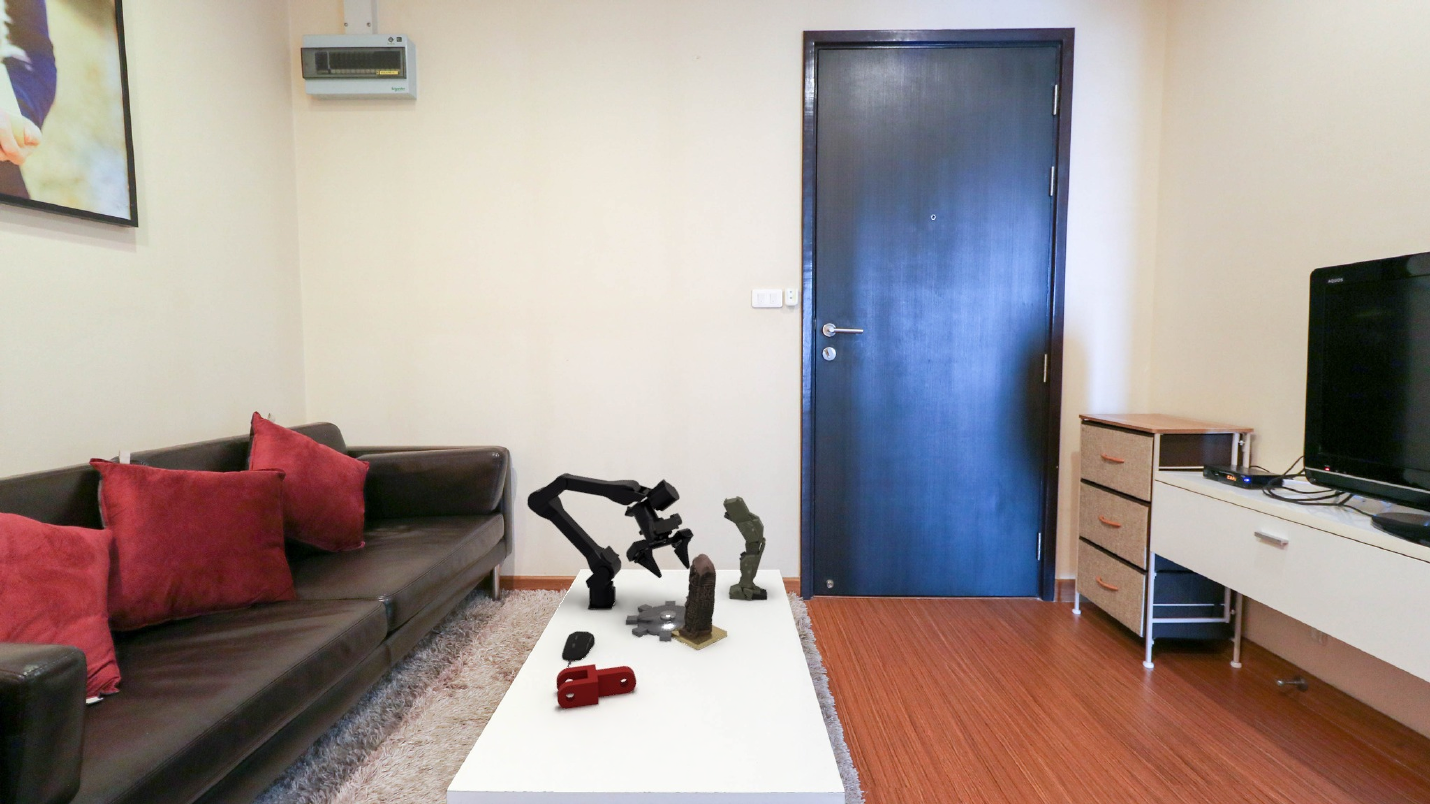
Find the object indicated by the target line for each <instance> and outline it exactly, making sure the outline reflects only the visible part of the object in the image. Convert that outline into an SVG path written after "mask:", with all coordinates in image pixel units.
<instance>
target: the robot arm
mask: <svg viewBox="0 0 1430 804" xmlns="http://www.w3.org/2000/svg"><path fill="white" fill-rule="evenodd" d="M565 491H571V492H576V493H582V494H588V495H594V496H600V497H604V498H606V499H608V500H610V502H611V501H612V502H614V503H616V504H619V505H622V506H626V509H625V511H624V516H625V517H629V518H634V519H635V522H636V524H637V525H638V527H639V531H638V534H639V535H640V536H643V537H644V538H643V539H641V540H640V539H639V540H635V541H633V542H632V543H631V544H630V546H629V547H628V548H627V550H626V553H625V554H626V555H625V556H626V558H627V560H628V562H629V563H632V562H633V563H634V564H638V565H640V566H642V567H643V568H645V569H647V570H648V571H649V572H650V573H652V574H653V575H654V576H655V577H656V578H658V579H660V578H662V577H663V574H662V571H661V570H660V567H659V565H658V564H657V562H656V559H655V557H654V555H653V554H654V553H653V550H657V549H660V548H664V547H668V546H671V547H672V549H673V552H674V554H675V555H676V556H677V558H678V560H679V561H680V562H681V563H682V565H683V567H684V568H686V570H690V566H691V565H690V557H689V549H688V548H689V543H690V542H691V541H692V539H693V537H694V536H695V534H694V533H693V531H692V530H691V528H688V527H686V528H682V529H680V526H681V525H683V519H682V517H681V516H680V514H679V512H677V513H673V514H670V515H669V518H665V519H664V518H663V516H661V517H659V515H658V513H657V512H659V511H660V512H665V510H667V509H668V508H670V507H672V506H673V504H675V503H676V502H678V500H680V499H681V498H680V494H679V491H678V490H677V489H676V487H675V486H673V485H672V484H671V483H669V482H667V481H666V479H664V478H663V479H662V480H660V481H659V482H658V483H657V484H656V485H655V486H654V487H653V488H651V487H648V486H645V485H642V484H640V483H639V481H637V480H635V479H620V480H619V479H618V480H606V479H599V478H594V477H593V478H592V477H589V476H587V477H586V476H582V475H577V474H576V475H575V474H571V473H570V472H569V473H568V472H565V473H563V474H561V475H559V476H556V478H555V479H554V480H553V481H552V482H549V484H547V485H546V486H542V487H540V488H539V489H536V490H534V491H533V492H531V493H529V494H528V496H527V500H526V501H527V503H526V505H527V507H528V508H529V509H530V511H532V512H533V513H535V514H536V515H537V516H538V517H540V518H543V519H544V520H547V521H549V522H551V523H552V525H554V526H555V528H556V529H558V531H560V532H561V534H562V535H563V536H564V537H565V538H566V539H567V540H568V541H569V542H570V544H571V545H572V546H574V547H575V548H576V549H577V550H578V552H579V553H580V554H581V555H582V556H583V557H584V558H585V560H586V562H587V565H588V567H589V570H590V572H591V573H592V574H591V575H590V576H589V577H588V578H586V580H585V584H586V587H587V588H588V596H589V597H588V602H589V603H588V607H587V610H611V609H613V607H614V605H615V604H616V601H617V593H616V592H617V590H616V589H617V588H616V586H614V582H615V581H614V579H615V577H616V575H618V574H619V572H620V571H621V569H622V560H621V558H620V554H619V553H616V551H615V550H614V549H613V548H612V547H611V545H608V546H607V547H603V546H600V545H599V544H598V543H596V541H595V540H594V539H593V538H592V537H591V536H590V535H589V534H588V533H587V532H586V530H585V529H584V528H582V526H581V525H580V524H579V523H578V522H577V520H575V519H574V518H573V517H572V516H571V515H570V514H569V513H568V512H567V511H566V509H565V508H564V506H563V503H562V499H561V498H560V497H559V496H560V495H561V494H563V492H565ZM633 503H634V504H633ZM632 504H633V505H632ZM630 505H631V506H630ZM678 529H679V530H678ZM674 530H677V531H676V532H675V533H674V534H673V531H674ZM672 534H673V535H672ZM671 535H672V536H671Z"/></svg>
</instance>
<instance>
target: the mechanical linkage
mask: <svg viewBox="0 0 1430 804" xmlns="http://www.w3.org/2000/svg"><path fill="white" fill-rule="evenodd" d="M623 680H624V681H623ZM636 685H637V677H636V674H635V671H634V670H633V668H631V667H630V666H627V665H622V666H620V665H619V666H613V667H607V668H599V669H597V667H596V664H595V663H594V664H587V665H578V666H572V667H570V666H569V667H568V668H567V667H566V668H564V669H561V671H559V672H558V675H557V676H556V689H557V691H556V695H557V696H556V700H557V704H558V705H559V707H560V708H562V709H563V710H569V709H575V708H582V707H589V706H596V705H597V706H598V705H599V704H600V703H599V698H605V697H613V696H619V695H620V696H621V695H627V694H631V693H632V692H633V691H634V690H635V688H636ZM571 694H572V696H568V695H571Z"/></svg>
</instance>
